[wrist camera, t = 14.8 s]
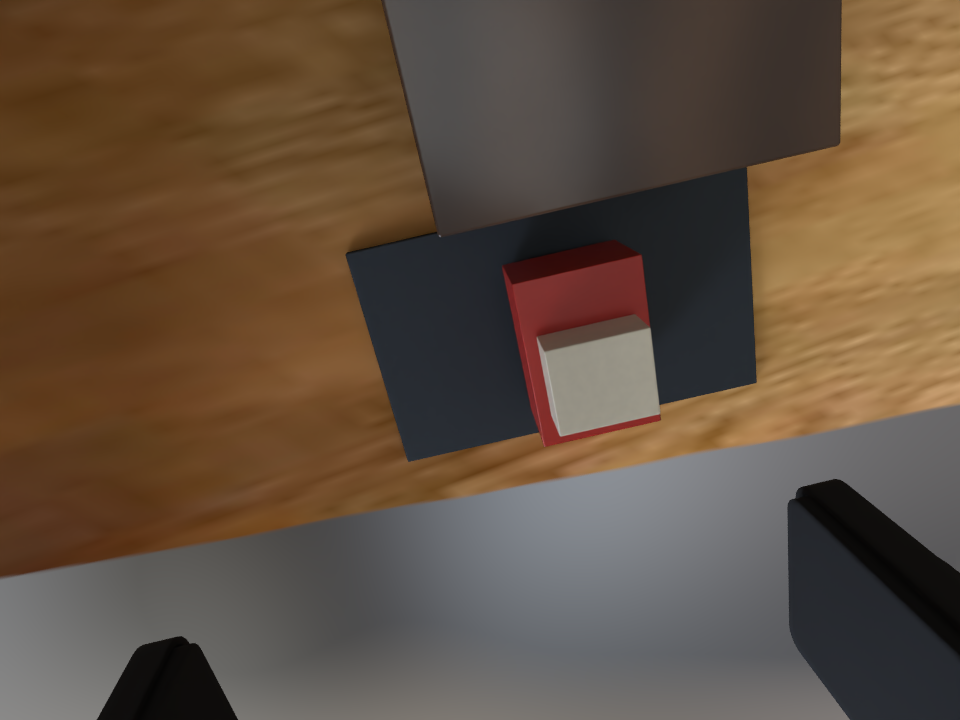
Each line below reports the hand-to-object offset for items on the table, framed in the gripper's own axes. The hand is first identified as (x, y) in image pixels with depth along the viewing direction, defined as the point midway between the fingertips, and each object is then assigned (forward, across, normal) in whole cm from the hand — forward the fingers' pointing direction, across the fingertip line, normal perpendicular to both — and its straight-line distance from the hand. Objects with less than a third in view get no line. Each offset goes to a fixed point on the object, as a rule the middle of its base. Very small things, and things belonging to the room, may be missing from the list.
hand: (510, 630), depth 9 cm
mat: (+22, -6, +3) cm, 23 cm away
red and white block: (+22, -6, +3) cm, 23 cm away
